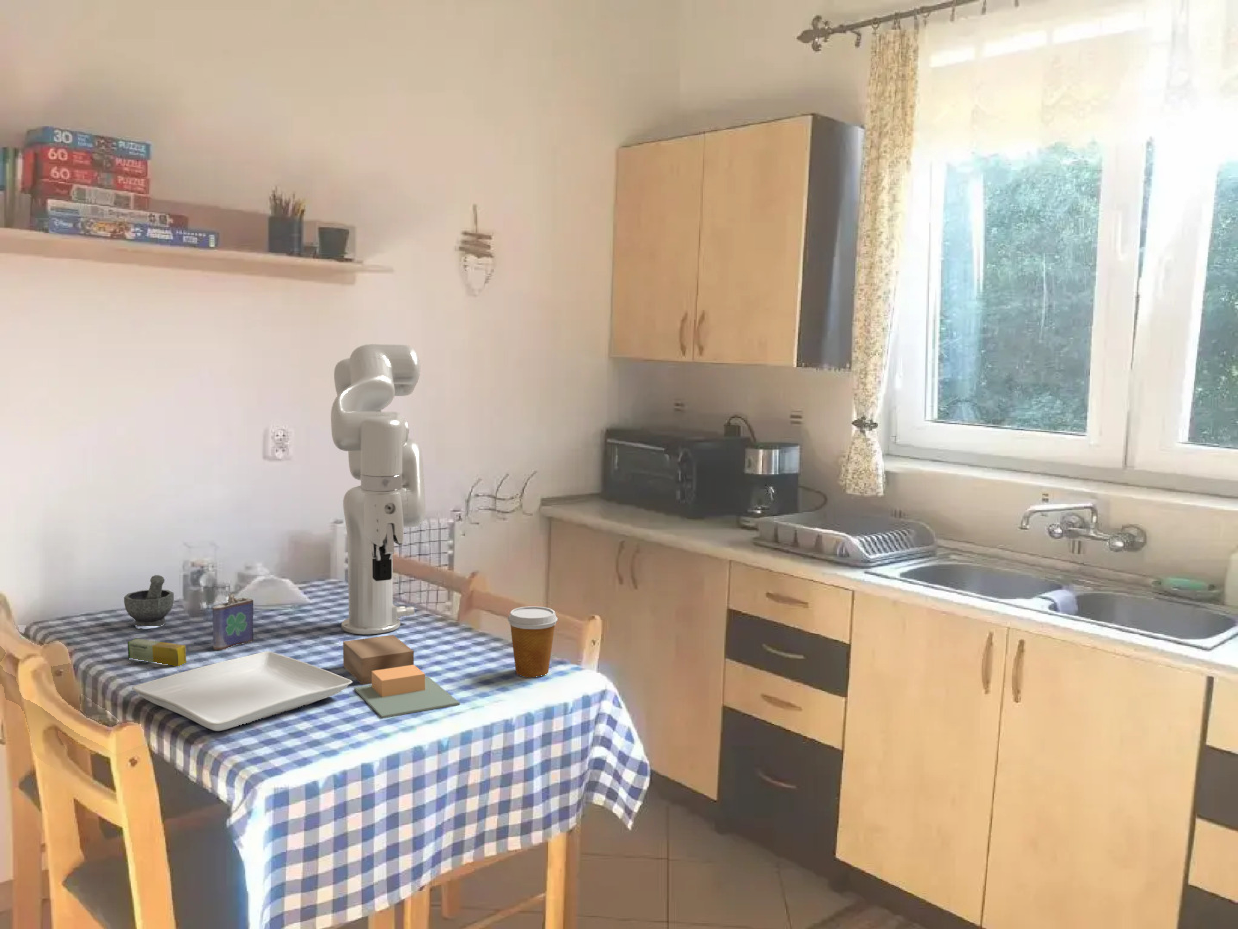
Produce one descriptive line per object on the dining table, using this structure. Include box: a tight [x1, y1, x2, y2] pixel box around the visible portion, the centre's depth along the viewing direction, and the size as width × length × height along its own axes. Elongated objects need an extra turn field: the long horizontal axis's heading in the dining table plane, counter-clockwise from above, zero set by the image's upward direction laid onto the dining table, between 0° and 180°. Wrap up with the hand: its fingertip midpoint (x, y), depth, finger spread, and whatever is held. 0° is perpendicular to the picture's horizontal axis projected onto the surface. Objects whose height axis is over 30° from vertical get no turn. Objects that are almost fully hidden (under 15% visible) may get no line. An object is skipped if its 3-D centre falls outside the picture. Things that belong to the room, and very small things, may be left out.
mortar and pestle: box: [123, 574, 175, 626], centre depth 225 cm, size 11×9×12 cm
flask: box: [211, 593, 254, 651], centre depth 213 cm, size 9×3×11 cm, turn 146°
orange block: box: [371, 664, 426, 697], centre depth 188 cm, size 8×6×3 cm
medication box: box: [126, 637, 187, 667], centre depth 202 cm, size 12×3×4 cm, turn 72°
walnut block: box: [342, 634, 415, 686], centre depth 198 cm, size 10×12×5 cm
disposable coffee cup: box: [507, 605, 558, 678], centre depth 199 cm, size 10×10×12 cm
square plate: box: [131, 650, 353, 732], centre depth 182 cm, size 27×27×4 cm
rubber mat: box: [353, 675, 461, 719], centre depth 185 cm, size 14×16×1 cm
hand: (382, 579), depth 194 cm, fingers closed
